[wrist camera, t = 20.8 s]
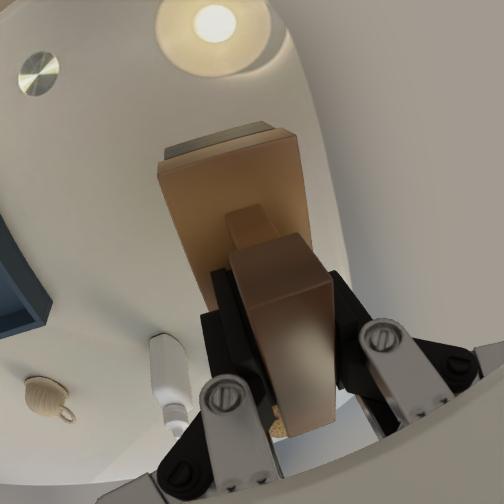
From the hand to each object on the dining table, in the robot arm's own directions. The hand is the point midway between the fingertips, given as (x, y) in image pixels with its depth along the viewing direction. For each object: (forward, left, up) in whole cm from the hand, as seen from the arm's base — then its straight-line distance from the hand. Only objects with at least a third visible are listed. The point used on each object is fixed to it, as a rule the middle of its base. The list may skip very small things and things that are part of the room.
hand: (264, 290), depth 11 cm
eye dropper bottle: (+20, -11, -17) cm, 29 cm away
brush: (0, 0, -4) cm, 4 cm away
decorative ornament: (+22, -31, -17) cm, 42 cm away
